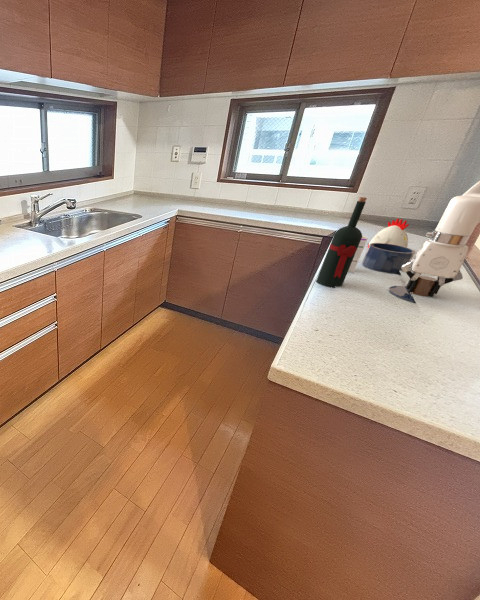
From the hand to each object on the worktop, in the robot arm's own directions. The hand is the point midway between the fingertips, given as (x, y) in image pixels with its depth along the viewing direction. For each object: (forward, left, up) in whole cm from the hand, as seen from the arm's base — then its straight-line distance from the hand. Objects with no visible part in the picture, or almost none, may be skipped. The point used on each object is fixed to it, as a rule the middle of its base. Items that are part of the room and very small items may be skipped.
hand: (419, 292), depth 106 cm
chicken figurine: (+2, -64, -2) cm, 64 cm away
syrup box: (+20, -16, -2) cm, 26 cm away
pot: (+6, -31, -2) cm, 32 cm away
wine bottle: (+24, +5, -2) cm, 24 cm away
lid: (0, 0, -1) cm, 1 cm away
